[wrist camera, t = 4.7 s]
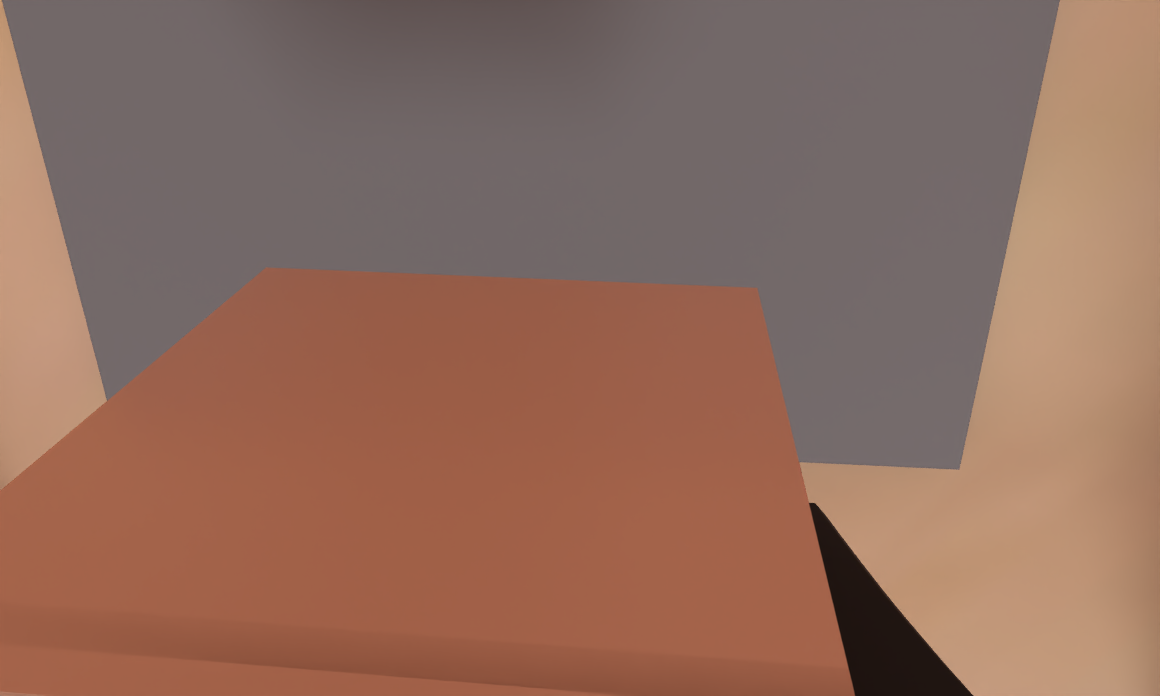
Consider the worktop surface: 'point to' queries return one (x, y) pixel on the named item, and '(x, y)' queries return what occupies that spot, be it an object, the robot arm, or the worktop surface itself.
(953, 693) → the robot arm
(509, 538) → the salmon pink cube
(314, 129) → the mat
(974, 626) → the worktop surface
